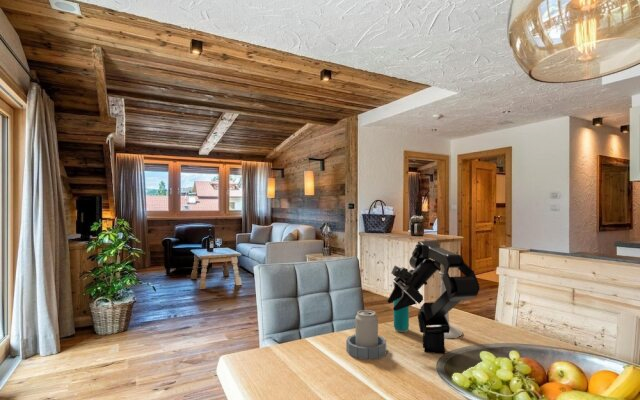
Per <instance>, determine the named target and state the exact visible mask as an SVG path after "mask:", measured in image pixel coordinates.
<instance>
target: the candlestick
mask: <svg viewBox="0 0 640 400" xmlns="http://www.w3.org/2000/svg"><path fill="white" fill-rule="evenodd" d="M440 267H441V270H440V271H438V274H439V278H440V280H441V281H440V295H439V297H440V296H441V295H442V294H443V293H444V292H445V291H446V288H445V285H444V282H443V279H442V277H443V274H444V270H445V269H444V266H443V265H442V264H441V266H440ZM445 316H446V319H447V321H448V324H449V327H450V330H449V333H444V339H445V338H455V339H458V338H457V337H459V336H461V335H462V336H463V331H462V330H461V329H460V328H459V327H457V326H455V325H451V324H450V318H449V312H448V313H447V314H446V315H445ZM438 326H441V325H431V326H428V327H438ZM462 336H461V337H462ZM459 338H460V337H459Z"/></svg>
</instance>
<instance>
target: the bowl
mask: <svg viewBox="0 0 640 400" xmlns="http://www.w3.org/2000/svg"><path fill="white" fill-rule="evenodd" d="M345 344H346V345H345V346H346V347H345V348H346V352H347V354H348V355H349V356H351V357H353V358H355V359H359V360H366V361H367V360H369V361H370V360H378V359H381V358H383V357H385V356H386V354H387V340H386V339H385V338H384V337H383V336H381V335H378V346H376V347H360V346H357V345H356V333H355V334H352V335H349V336H348V337H347V339H346V342H345Z"/></svg>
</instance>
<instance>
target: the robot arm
mask: <svg viewBox="0 0 640 400" xmlns="http://www.w3.org/2000/svg"><path fill="white" fill-rule="evenodd" d="M408 260H409V261H408V262H409V266H410V267H411V268H413V269H410V270H409V269H408V268H406V267H404V266H402V267H399V266H397V265H394V267H393V268H392V270H391V272H390V273H391V274H392V275H393V276H394V279H393V281H392V282H393V290H392V291H391V293H390V295H389V297H388V299H387V301H386V302H387V303H388V304H391V303H394V301H395V300H397V299H399V298H400V299H399V300H398V302H397V303H396V305H395V306H394V305H393V308H392V309H393V311H394V310H395V311H397V310H399V309H402V308H405V307H408V306H409V307H410V306H413V305H417V304H421V303H422V302H423V300H424V295H423V294H421V292H420V289H421V287H423V286H426V285H427V284H428V282H427V281H428V280H430V278H431V277H432V276H433V275H434V274H435V273H436V272H437V271H438V272H441V264H442V265H443V266H444V269H445V270H444V274H443V277H442V279H443V282H444V285H445V288H446V291H445V292H444V293H443V294H442V295H441V294H440V295H441V296H440V295H439V297H438V298H437V299H436V300H435V301H434V302H424V303H423V304H422V306H419V307H420V309H419V311H418V313H417V321H418V327H419V331H420V333H423V334H422V348H423V349H424V350H423V351H424V353H430V354H439V355H445V354H446V347H445V338H444V333H449V330H450V327H449V324H450V323H449V324H448V321H447V319H446V316H445V315H446V314H447V313H448V314H449V312H450V311H452V309H453V308H454V307H456V306H457V305H458V304H459V303H460V302H461V301H466V300H470V299H473V298H475V297H477V296H478V295H479V292H480V283H479V281H478V278H477V276H476V272H475V271H474V270H473V269H472V268H471V267H470V266H468V264H467V263H465V260H464V258H463V256H462V255H461V254H459V253H455V252H452V251H450V250H447V249H445V248H443V247H441V244H440V243H439V242H437V240H421V241H417V244H416V245H415V246H414V249H413V251H412V254H411V257H410V258H409V259H408ZM456 268H458V270H459V271H460V272H461V273H462V274H463V275H464V276H462V275H460V276H450V274H449V270H450V269H456ZM405 291H406V292H405ZM431 325H441V326H438V327H429V326H431Z"/></svg>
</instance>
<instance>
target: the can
mask: <svg viewBox="0 0 640 400" xmlns="http://www.w3.org/2000/svg"><path fill="white" fill-rule="evenodd" d="M354 320H355V334H356V345H357V346H360V347H376V346H378V336H379V323H378V322H379V317H378V316H377V314H376V311H374V310H370V309H363V310H358V311H357V314H356V315H355V319H354Z"/></svg>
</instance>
